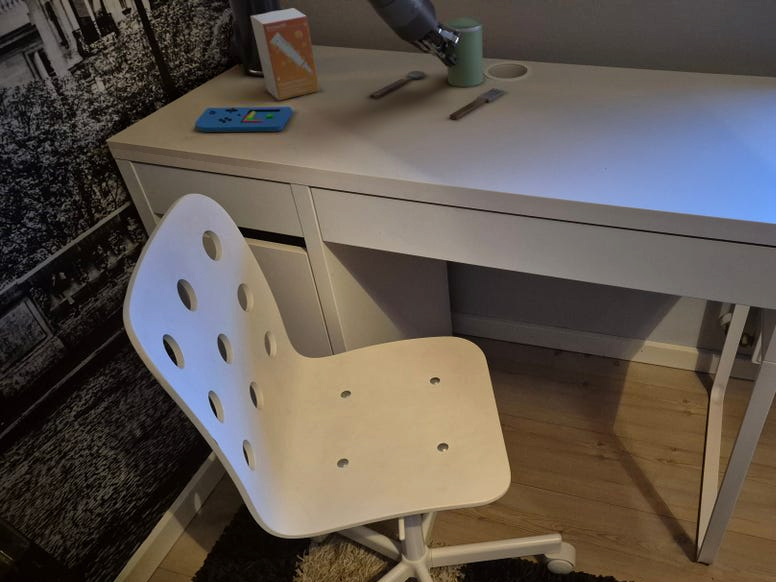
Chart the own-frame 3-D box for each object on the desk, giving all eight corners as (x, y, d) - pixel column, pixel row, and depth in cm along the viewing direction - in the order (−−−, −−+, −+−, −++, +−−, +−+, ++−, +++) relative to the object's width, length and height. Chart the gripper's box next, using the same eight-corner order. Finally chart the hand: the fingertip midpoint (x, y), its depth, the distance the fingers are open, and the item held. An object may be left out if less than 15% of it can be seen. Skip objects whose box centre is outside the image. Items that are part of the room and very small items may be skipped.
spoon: (380, 100, 119) (379, 96, 119) (366, 96, 121) (366, 93, 120) (427, 75, 128) (427, 72, 127) (414, 72, 129) (414, 69, 129)
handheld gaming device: (206, 106, 116) (291, 104, 116) (208, 112, 117) (293, 111, 116) (190, 125, 110) (279, 124, 109) (192, 132, 111) (281, 131, 110)
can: (450, 88, 123) (446, 30, 116) (445, 75, 128) (442, 19, 121) (485, 85, 123) (484, 27, 117) (480, 73, 128) (479, 16, 122)
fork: (459, 120, 112) (458, 117, 112) (447, 117, 113) (447, 114, 113) (504, 93, 120) (504, 90, 120) (493, 90, 121) (493, 87, 121)
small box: (279, 101, 120) (261, 23, 111) (267, 91, 124) (249, 15, 115) (321, 91, 123) (307, 15, 114) (307, 81, 127) (293, 6, 118)
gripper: (443, -14, 102) (490, 48, 117) (378, -24, 107) (431, 37, 123) (424, 32, 102) (474, 88, 117) (361, 20, 108) (416, 75, 123)
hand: (452, 62), depth 120 cm, fingers closed
